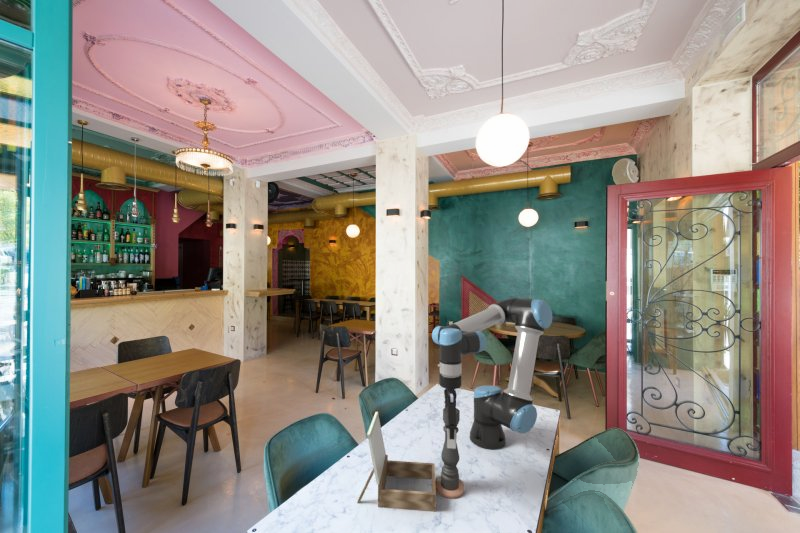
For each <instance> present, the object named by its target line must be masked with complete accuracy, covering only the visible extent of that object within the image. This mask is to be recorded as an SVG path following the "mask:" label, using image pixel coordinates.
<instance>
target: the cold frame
mask: <svg viewBox="0 0 800 533" xmlns="http://www.w3.org/2000/svg"><path fill="white" fill-rule="evenodd" d="M388 459H389V454H386V457H385V461H384V466H383V470H382V474H381V479H380V483H379V484H377V507H378V508H384V509H385V508H387V509H399V510H400V509H401V510H409V511H411V510H413V511H424V512H425V511H426V512H437V511H436V510H437V494H436V493H437V492H436V485H435V481H436V468H435V467H436V465H435V463H434V462H433V463H432V462H421V461H420V462H419V461H402V460H390V459H389V460H388ZM373 475H375V472H374V467H373V468H372V470H371V472H370V475H369V476H368V478H367V480H366V482H365V485H364V487H363V488H362V491H361V493H360V495H359V497H358V499H357V502H356V503H358V504H360V502H361V500H362V498H363V496H364V494H365V492H366V490H367V488H368V485H369V483H370V481H371V480H372V478H373ZM388 477H395V478H409V479H425V480H431V491H417V490H406V489H393V488H392V489H390V488H386V485H387V484H386V483H387V479H388Z"/></svg>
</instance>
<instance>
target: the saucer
mask: <svg viewBox="0 0 800 533" xmlns="http://www.w3.org/2000/svg"><path fill="white" fill-rule="evenodd" d="M435 485H436V493H437V494H438V495H439V496H440V497H442V498H445V499H450V500H451V499H452V500H455V499H458V498H459V499H460V498H461V497H462V496H463V495H464V493H465V483H464V481H462V480H461V479H460V478H459V487H458V489H456V490H453V491H450V490H446V489H444V488H443V487H442V486H441V475H440V476H438V477H437V478H435Z"/></svg>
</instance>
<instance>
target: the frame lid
mask: <svg viewBox="0 0 800 533" xmlns="http://www.w3.org/2000/svg"><path fill="white" fill-rule="evenodd" d="M381 426H382V425H381V421H380V417H379V411H375V413H374V415H373V417H372V420H371V423H370V425H369V428H368V429H367V433H366V437H367V438H366V439H367V440H368V446H369V450H370V456H371V460H372V466H373V468H374V476H375V482H376V485H378V484H379V483H380V479H381V474H382V470H383V466H384V461H385V457H386V455H387V454H386V447H385V442H384V437H383V433H382V427H381Z"/></svg>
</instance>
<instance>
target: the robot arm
mask: <svg viewBox="0 0 800 533" xmlns="http://www.w3.org/2000/svg"><path fill="white" fill-rule="evenodd" d="M506 323H507V324H508V323H509V324H514V328H515V330H516V331H517V335H516V338H515V346H514V349H513V350H514V352H513V357H512V363H511V368H510V373H509V378H508V379H509V380H508V384H507V388H505V389H503V391H502V388H501V387H499V386H497V385H486V384H485V385H480V386H476V387H475V389H474V390H473V423H472V425H471V427H470V428H471V429H470V432H469V439H470V442H472V444H474V445H475V446H477V447H479V448H482V449H487V450H499V449H502V448H503V447H505V446H506V436H505V432H504V430H503V429H504V428H503V426H504V427H506V428H508V429H509V430H511V431H513V432H515V433H516V432H517V433H518V434H527V433H529V432H530V431H531V430H533V428H534V426H535V424H536V422H537V418H538V412H537V408H536V407H535V405H533V402H534V399H533V397H532V396H531V388H532V381H533V377H534V376H533V375H534V370H535V364H536V359H537V352H538V347H539V346H538V345H539V340H540V336H541V335H544V333H545V329H548V328H550V327H551V325H552V323H553V312H552V309H551V307H550V305H549V303H547V301H545V300H543V299H538V298H537V299H536V298H519V297H509V298H506V299H502V300H500V301H497V302H494V303H493V304H492V303H491V304H490V305H489V306H488V307H487V308H486V309H484V310H482V311H481V310H480V311H479V312H477V313H475V314H473V315H470V316H467V317H466V318H463V319H461V320H459V321H457V322H454V323H452V324H449V325H445V326H444V325H437V326H436V327H434V329H433V330H432V333H431V338H432V341H433V343H435V344H437V345H439V363H438V364H437V367H438V368H439V380H438V381H439V386H440V387H441V388H443V389H444V390H443V394H444V408H445V407H447V413H448V426H446V428H447V448H453V449H456V443H457V434H456V429H457V427H458V425H457V426H456V408H457V391H456V390H457V389H460V388H461V387H462V374H463V372H462V371H463V370H462V368H463V366H462V365H463V364H462V363H463V361H462V360H463V359H462V356H465V355H470V354H471V355H472V354H478V353H480V352H483V351H485V349H486V347H487V345H488V344H487V343H488V342H487V338H486V336H485V334H484V333H483V332H482V331H485V330H486V329H489V328H490V327H492V326H494V325H497V326H498V325H502V324H506Z"/></svg>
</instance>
